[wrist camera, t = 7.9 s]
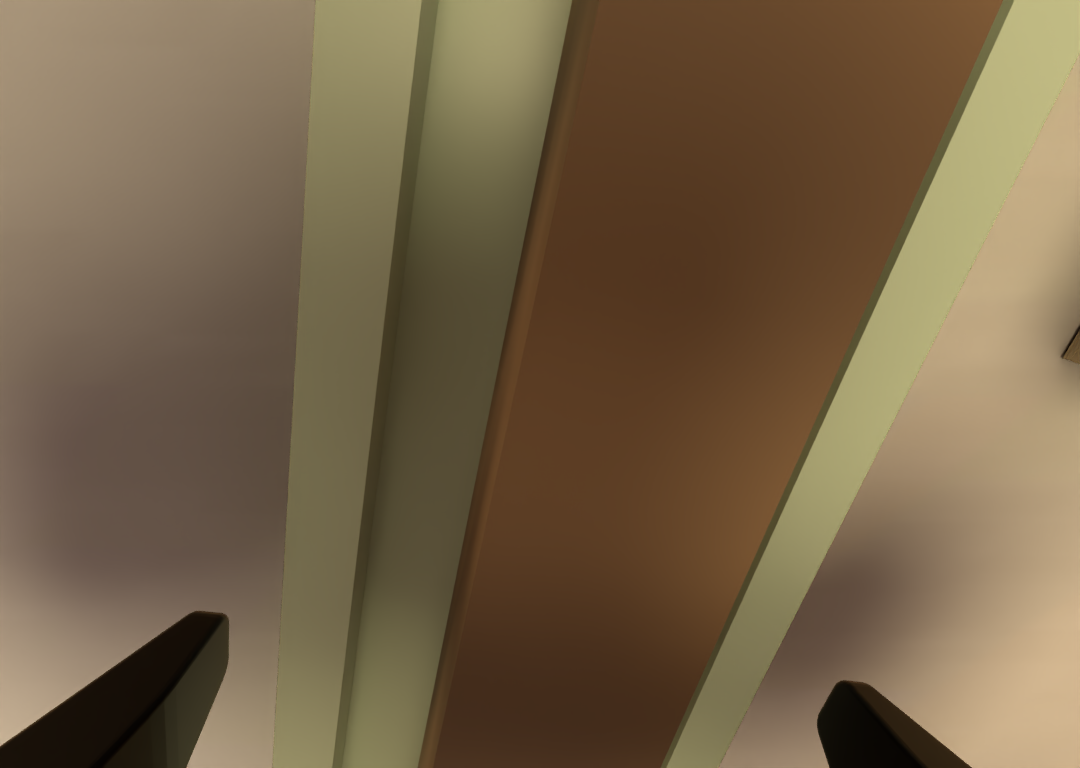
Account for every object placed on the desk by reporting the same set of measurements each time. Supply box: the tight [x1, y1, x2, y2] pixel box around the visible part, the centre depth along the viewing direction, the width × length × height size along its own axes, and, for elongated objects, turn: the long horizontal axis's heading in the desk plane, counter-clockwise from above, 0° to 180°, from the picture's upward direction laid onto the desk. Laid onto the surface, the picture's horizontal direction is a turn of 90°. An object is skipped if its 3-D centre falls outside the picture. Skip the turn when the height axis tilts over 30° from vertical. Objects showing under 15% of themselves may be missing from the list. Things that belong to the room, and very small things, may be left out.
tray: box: [272, 0, 1080, 768], centre depth 9 cm, size 23×8×2 cm, turn 168°
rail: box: [418, 0, 1003, 768], centre depth 8 cm, size 18×3×3 cm, turn 168°
